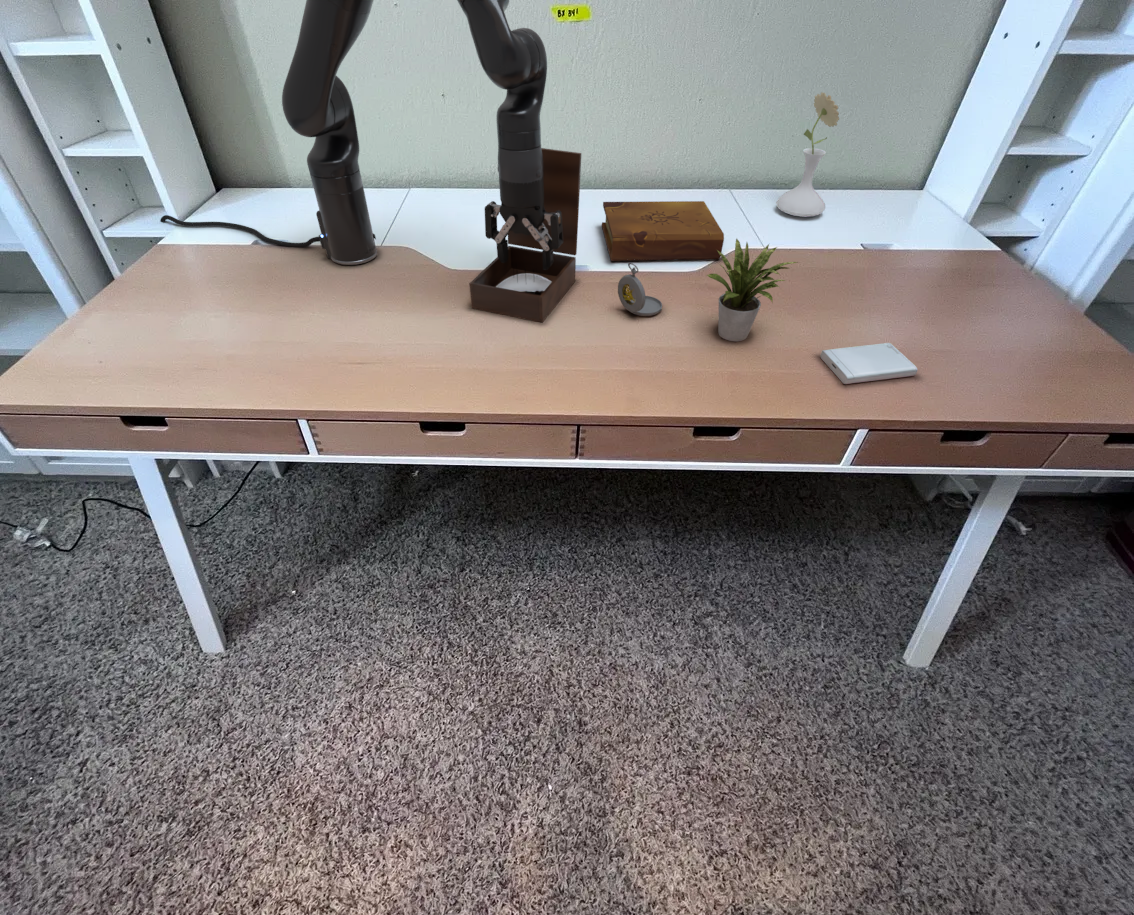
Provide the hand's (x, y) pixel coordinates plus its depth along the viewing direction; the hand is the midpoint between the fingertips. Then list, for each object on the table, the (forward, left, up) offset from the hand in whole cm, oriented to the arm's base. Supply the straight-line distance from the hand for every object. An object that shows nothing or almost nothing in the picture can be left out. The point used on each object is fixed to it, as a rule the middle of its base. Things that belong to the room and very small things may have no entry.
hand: (525, 264), depth 116 cm
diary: (+18, +32, -6) cm, 37 cm away
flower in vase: (+45, +63, -6) cm, 78 cm away
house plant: (+40, -1, -6) cm, 40 cm away
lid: (0, +9, +8) cm, 12 cm away
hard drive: (+62, -2, -6) cm, 62 cm away
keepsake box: (0, 0, -6) cm, 6 cm away
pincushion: (0, 0, -6) cm, 6 cm away
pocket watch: (+22, +2, -6) cm, 23 cm away
